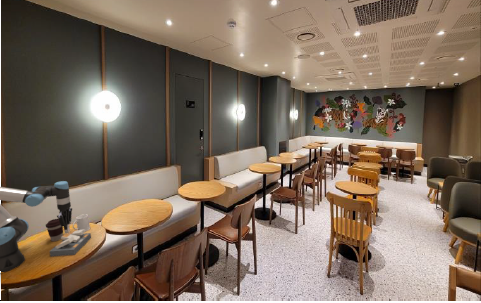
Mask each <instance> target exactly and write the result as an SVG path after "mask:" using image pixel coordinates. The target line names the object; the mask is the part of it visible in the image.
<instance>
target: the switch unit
mask: <svg viewBox="0 0 481 303" xmlns="http://www.w3.org/2000/svg"><path fill="white" fill-rule="evenodd" d="M78 236H80V239H79V240H78V241H77V242H71V243H69V244H67V245H64V246H62V247H60V248H58V249H56V245H55V246H54V247H52V249H51V250H49V256H50V257H62V256H63V257H64V256H75V255H76V254H77V253H78V252H79V251H80V250H81V249H82V248H84V247H85V245H86V244H87V243H88V242H89V241H90V240H91V239H92V234H91V233H90V232H89V233H86V232H85V233H83V234H82V235H78ZM62 241H65V240H62V239H61V241H60V242H62ZM83 246H84V247H83Z"/></svg>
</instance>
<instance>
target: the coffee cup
mask: <svg viewBox="0 0 481 303" xmlns="http://www.w3.org/2000/svg"><path fill="white" fill-rule="evenodd" d="M45 227H46V228H47V233H48V236H49V238H50V241H51V242H57V241H60V240H62V239H61V237H62V236H63V235H64V226H61V225H60V222H59V219H58V218H53V219H51V220H49V221H48V222H47V223H45Z"/></svg>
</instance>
